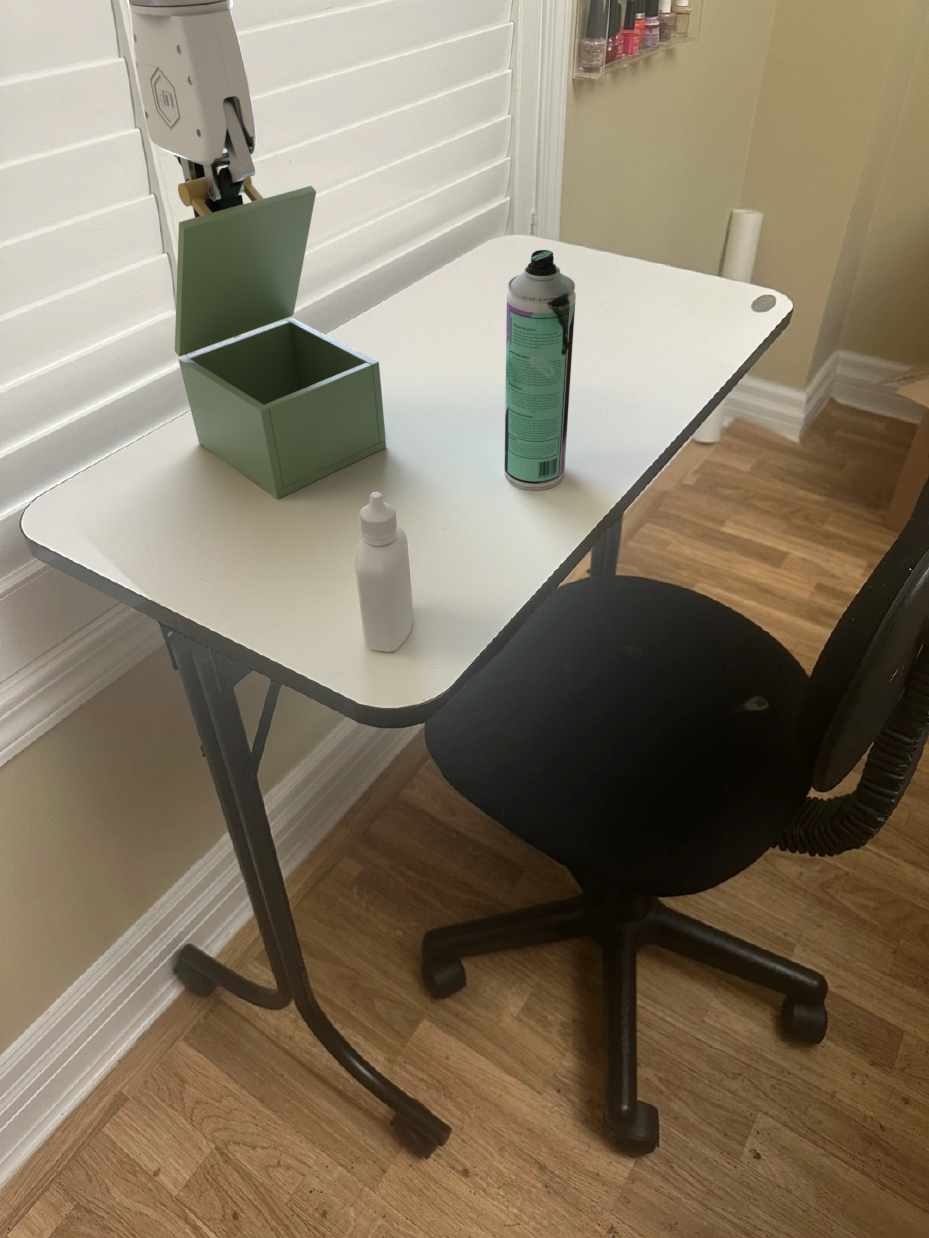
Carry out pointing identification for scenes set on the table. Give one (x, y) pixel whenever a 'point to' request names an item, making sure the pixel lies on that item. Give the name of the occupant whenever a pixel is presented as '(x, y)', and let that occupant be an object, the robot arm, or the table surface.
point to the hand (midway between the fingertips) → (224, 240)
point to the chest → (285, 404)
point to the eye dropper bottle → (383, 577)
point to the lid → (238, 263)
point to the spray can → (538, 373)
